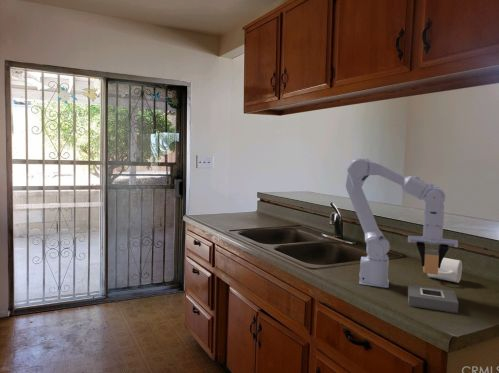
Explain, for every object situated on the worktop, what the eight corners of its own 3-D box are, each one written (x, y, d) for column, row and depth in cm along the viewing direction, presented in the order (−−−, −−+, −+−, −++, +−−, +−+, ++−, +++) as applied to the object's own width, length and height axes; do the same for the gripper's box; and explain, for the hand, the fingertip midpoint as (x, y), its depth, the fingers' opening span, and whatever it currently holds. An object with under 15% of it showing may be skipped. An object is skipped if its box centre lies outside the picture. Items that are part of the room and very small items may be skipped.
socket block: (408, 305, 114) (409, 295, 113) (407, 293, 124) (408, 284, 123) (457, 313, 109) (458, 302, 109) (452, 300, 119) (453, 290, 119)
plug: (423, 272, 123) (425, 251, 123) (423, 269, 127) (424, 249, 127) (437, 274, 122) (439, 253, 121) (436, 271, 126) (437, 250, 125)
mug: (432, 274, 146) (433, 253, 146) (461, 280, 140) (462, 258, 139) (423, 281, 137) (424, 259, 136) (454, 288, 131) (455, 265, 130)
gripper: (409, 224, 122) (406, 266, 123) (460, 229, 117) (457, 272, 118) (408, 221, 129) (406, 261, 130) (457, 225, 124) (454, 266, 125)
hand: (430, 266), depth 124 cm, fingers closed on plug, 4 cm apart
